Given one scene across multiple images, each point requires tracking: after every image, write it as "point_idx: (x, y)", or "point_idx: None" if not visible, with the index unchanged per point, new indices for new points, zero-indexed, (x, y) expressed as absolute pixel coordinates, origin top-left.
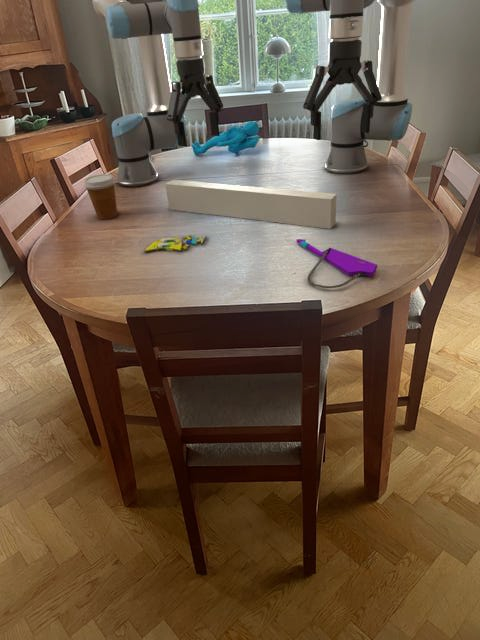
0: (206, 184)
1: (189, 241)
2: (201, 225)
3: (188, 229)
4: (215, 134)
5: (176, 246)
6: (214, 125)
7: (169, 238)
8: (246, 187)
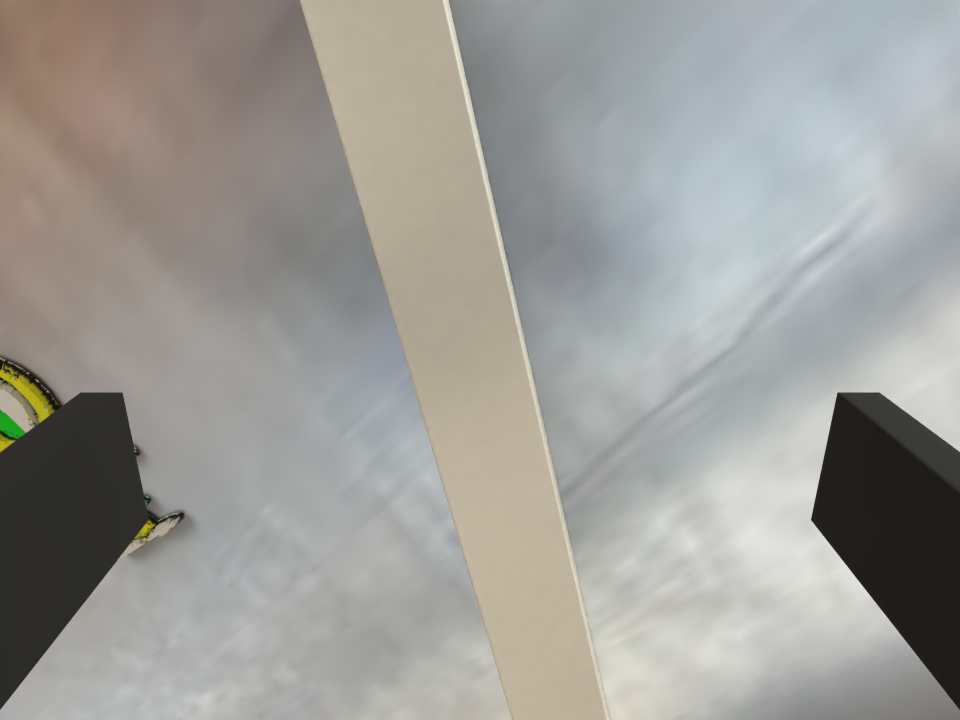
0: (467, 316)
1: None
2: (279, 384)
3: (195, 363)
4: (830, 487)
5: None
6: (912, 579)
7: (16, 408)
8: (551, 601)
